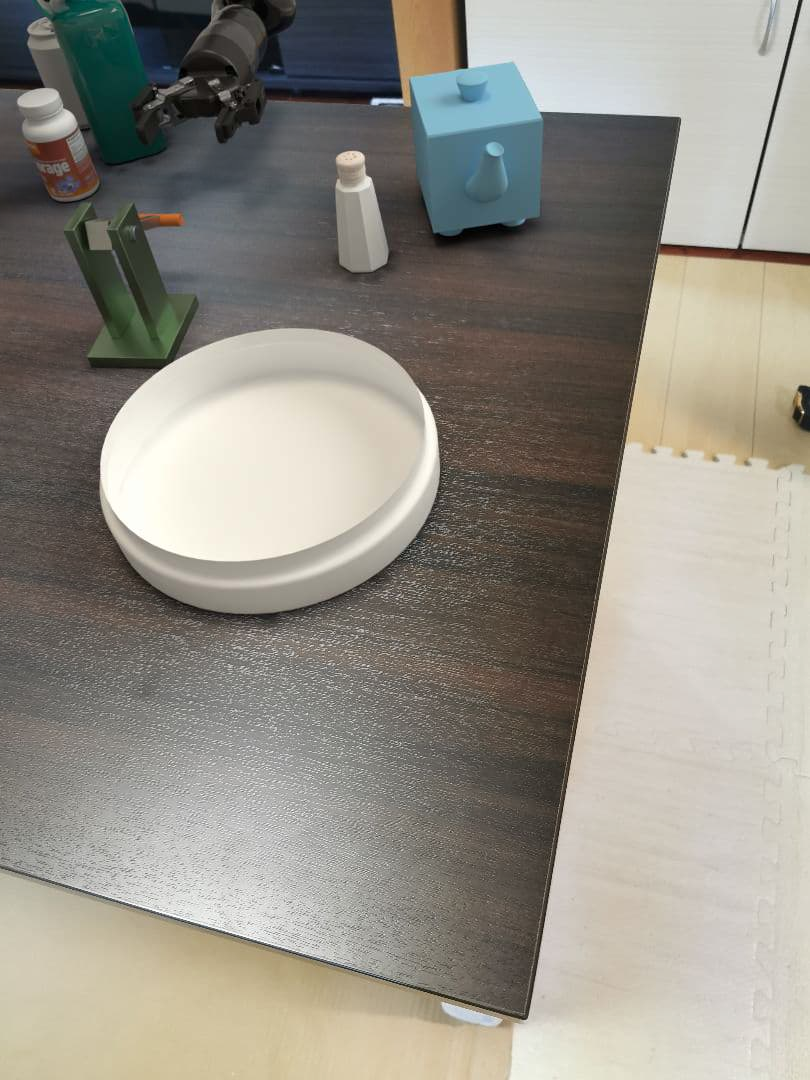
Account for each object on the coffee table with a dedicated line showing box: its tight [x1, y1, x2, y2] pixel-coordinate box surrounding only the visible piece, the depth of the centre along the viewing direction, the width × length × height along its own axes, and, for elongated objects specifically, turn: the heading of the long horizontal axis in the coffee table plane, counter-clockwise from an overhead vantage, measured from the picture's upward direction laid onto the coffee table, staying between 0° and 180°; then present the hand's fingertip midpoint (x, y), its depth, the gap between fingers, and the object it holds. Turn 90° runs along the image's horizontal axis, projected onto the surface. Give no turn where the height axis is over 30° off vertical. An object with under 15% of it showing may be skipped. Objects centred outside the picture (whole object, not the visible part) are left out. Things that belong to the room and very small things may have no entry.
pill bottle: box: [16, 87, 100, 203], centre depth 98 cm, size 6×6×11 cm
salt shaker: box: [334, 150, 390, 274], centre depth 84 cm, size 5×5×11 cm
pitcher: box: [31, 0, 168, 165], centre depth 100 cm, size 10×8×22 cm
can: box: [26, 16, 90, 130], centre depth 110 cm, size 8×8×12 cm
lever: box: [85, 213, 184, 251], centre depth 79 cm, size 13×5×2 cm, turn 173°
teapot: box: [408, 61, 544, 237], centre depth 86 cm, size 22×11×14 cm, turn 7°
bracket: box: [62, 201, 200, 369], centre depth 78 cm, size 10×8×13 cm
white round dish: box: [99, 327, 441, 615], centre depth 67 cm, size 27×27×6 cm
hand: (181, 136), depth 89 cm, fingers open, 8 cm apart
